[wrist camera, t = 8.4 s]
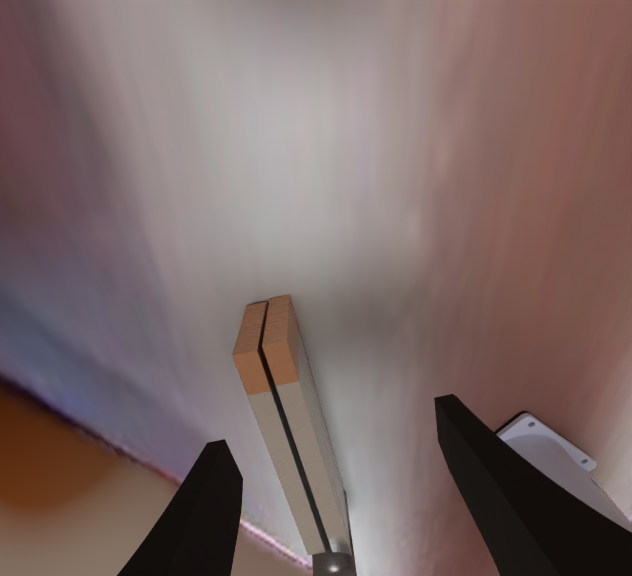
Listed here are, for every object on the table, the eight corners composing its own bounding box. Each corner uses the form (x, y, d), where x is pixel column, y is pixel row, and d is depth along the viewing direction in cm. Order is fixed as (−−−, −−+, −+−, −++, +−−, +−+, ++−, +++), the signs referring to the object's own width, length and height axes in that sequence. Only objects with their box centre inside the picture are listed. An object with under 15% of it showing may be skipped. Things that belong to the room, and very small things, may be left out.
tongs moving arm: (321, 482, 28) (325, 552, 23) (306, 485, 28) (307, 555, 23) (266, 301, 21) (257, 350, 16) (246, 305, 21) (232, 355, 16)
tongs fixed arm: (348, 503, 29) (359, 585, 24) (314, 510, 30) (318, 592, 24) (290, 294, 21) (288, 350, 16) (242, 304, 21) (224, 363, 16)
